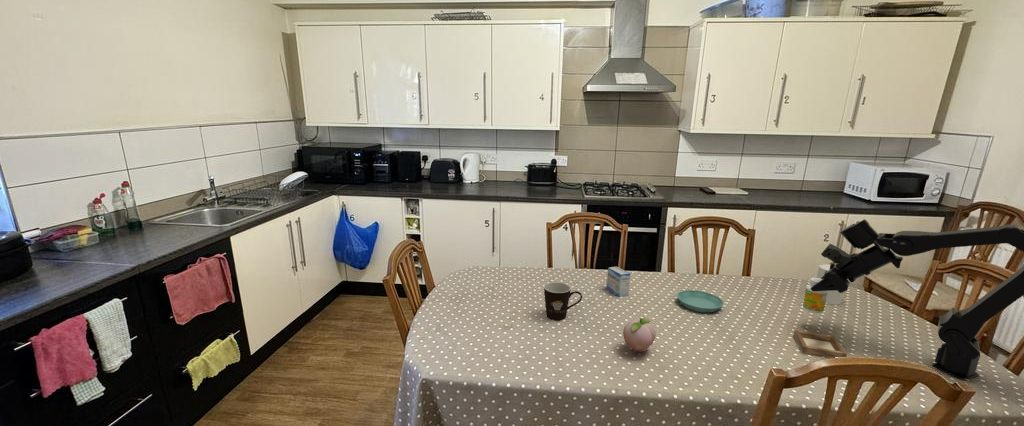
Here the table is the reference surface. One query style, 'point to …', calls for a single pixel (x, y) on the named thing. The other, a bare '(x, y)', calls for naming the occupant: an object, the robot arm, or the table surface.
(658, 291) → the table surface
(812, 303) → the supplement bottle
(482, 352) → the table surface
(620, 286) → the medicine box
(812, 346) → the tray
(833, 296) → the cup
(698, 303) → the saucer
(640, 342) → the decorative fruit
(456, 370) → the table surface
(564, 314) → the coffee mug
